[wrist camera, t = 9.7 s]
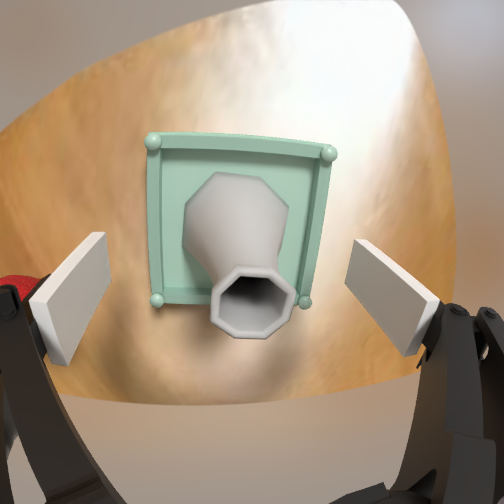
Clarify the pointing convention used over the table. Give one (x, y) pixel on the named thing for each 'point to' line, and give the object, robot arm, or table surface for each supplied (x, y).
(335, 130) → the table surface
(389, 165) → the table surface
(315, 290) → the table surface
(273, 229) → the flask
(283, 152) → the base board
